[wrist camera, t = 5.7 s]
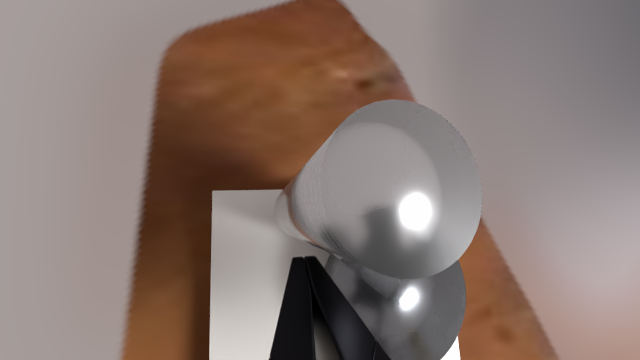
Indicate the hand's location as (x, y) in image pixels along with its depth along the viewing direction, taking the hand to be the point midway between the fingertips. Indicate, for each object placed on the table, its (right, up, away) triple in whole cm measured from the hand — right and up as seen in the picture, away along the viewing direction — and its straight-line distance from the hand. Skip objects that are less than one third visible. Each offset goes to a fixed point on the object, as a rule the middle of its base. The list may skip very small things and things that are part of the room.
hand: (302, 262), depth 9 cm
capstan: (+1, -4, +5) cm, 7 cm away
